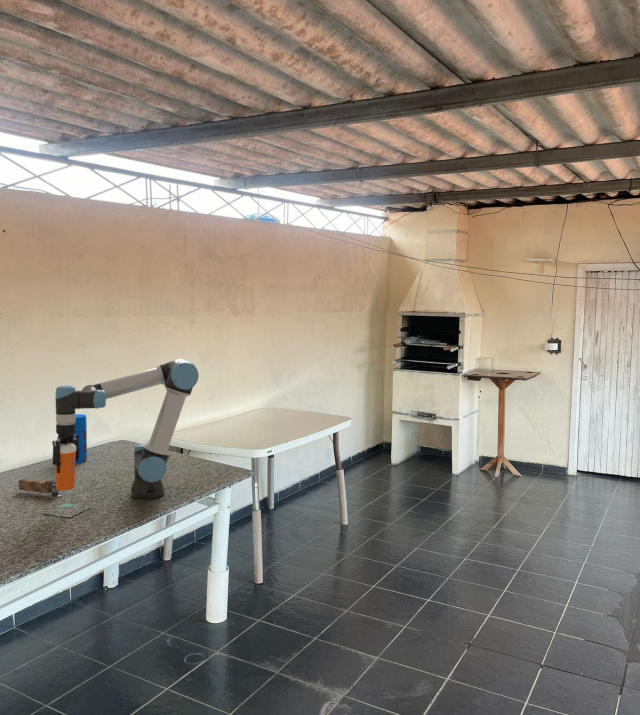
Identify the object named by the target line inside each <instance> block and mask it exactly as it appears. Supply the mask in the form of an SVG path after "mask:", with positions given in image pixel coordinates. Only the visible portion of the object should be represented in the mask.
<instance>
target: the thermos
mask: <svg viewBox="0 0 640 715" xmlns="http://www.w3.org/2000/svg"><path fill="white" fill-rule="evenodd" d="M75 415H76V422H75V424H76V431H75V433H74V435H79V440H78V441H79V458H77V459H78V461H76V465H78V464H84V463H86V462H87V460H88V443H87V442H88V441H87V440H88V438H87V437H88V435H87V434H88V433H87V431H88V430H87V428H88V427H87V426H88V425H87V415H86V414H80V413H75Z"/></svg>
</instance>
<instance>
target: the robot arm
mask: <svg viewBox="0 0 640 715" xmlns="http://www.w3.org/2000/svg"><path fill="white" fill-rule="evenodd" d="M199 375H200V374H199V371H198V369H197V367H196V365H195V364H194V363H192V362H190V361H189V360H186V359H185V358H177V359H173V360H171V361H167V362H164V363H160V364H158V365H157V367H155V368H151V369H147V370H144V371H140V372H137V373H132V374H128V375H125V376H122V377H118V378H113V379H111V380H107V381H102V382H100V383H97V384H87V385H85V386H84V387H83V388H82V389H81V390H76V387H75V386H74V385H59V386H57V387H56V388H55V398H54V400H55V423H56V425H55V433H56V434H57V439H56V440H52V441H51V443H52V465H53V466H55V465H56V466H57V473H60V465H61V463H60V444H61V443H64V442H68V443H73V444H74V445H75V446H76V456H75V468H76V466H77V464H76V461H78V459H77V458H79V441H78V440H79V435H74V433H75V431H76V424H75V422H76V415H75V414H76V410H80V409H103V408H105V407H106V406H107V400H108V399H112V398H115V397H118V396H122V395H127V394H130V393H134V392H136V391H141V390H145V389H148V388H151V387H152V388H153V387H155V386H159V385H163V386H164V388H165V391H166V392H165V396H164V399H163V401H162V404H161V406H160V411H159V412H158V416H157V419H156V422H155V425H154V427H153V429H152V433H151V436H150V438H149V441H148V443H143V444H137V445H135V446H134V449H133V450H134V451H133V455H134V456H133V457H134V459H133V460H134V461H133V462H134V479H133V481H132V485H131V487H130V488H131V489H130V497H132V498H133V499H134V498H135V499H140V500H149V499H156V498H160V497H163V496H164V495H165V494H166V492H165V491H166V489H165V485H164V482H163V478H164V477H165V476H166V473H167V472H168V470H167V469H168V461H169V457H170V455H171V453H170V451H169V447H170V444H171V441H172V438H173V436H174V433H175V430H176V427H177V424H178V421H179V418H180V415H181V412H182V410H183V407H184V403H185V401H186V398H187V397H189V396H191V394H192V392H193V389H194V387H195V386H196V385H197V382H198V381H199V377H200V376H199ZM69 441H70V442H69ZM60 442H61V443H60ZM68 443H65V445H66V444H68ZM58 469H59V470H58ZM58 471H59V472H58Z"/></svg>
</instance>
